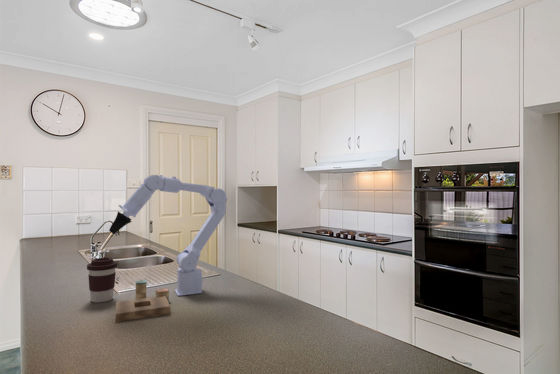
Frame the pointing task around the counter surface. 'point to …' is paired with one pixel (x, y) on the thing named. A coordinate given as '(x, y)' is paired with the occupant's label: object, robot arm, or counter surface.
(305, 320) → the counter surface
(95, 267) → the coffee cup
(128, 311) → the hole board
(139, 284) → the square peg
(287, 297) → the counter surface
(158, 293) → the tan cubic piece
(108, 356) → the counter surface
